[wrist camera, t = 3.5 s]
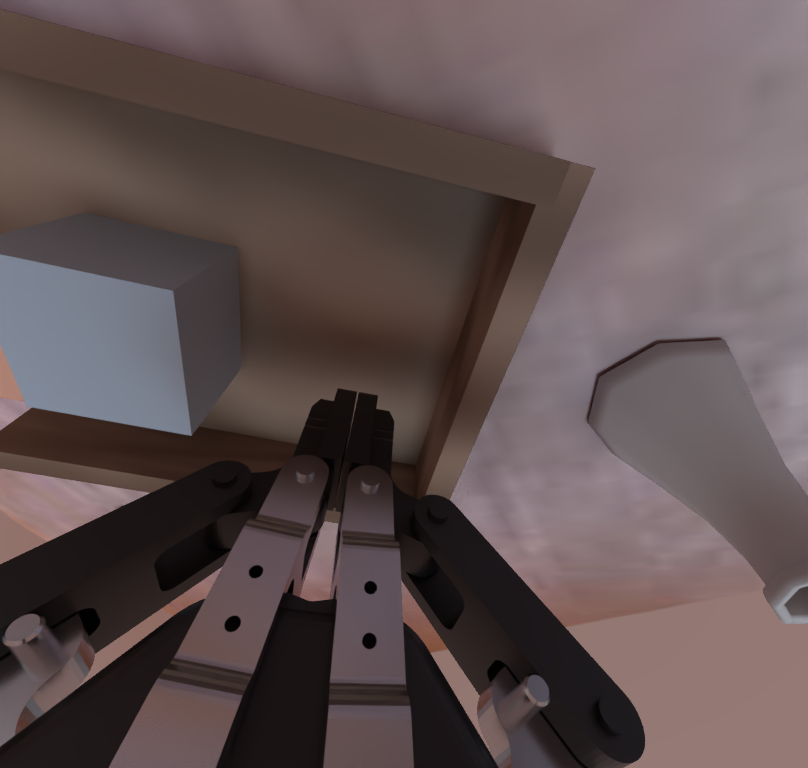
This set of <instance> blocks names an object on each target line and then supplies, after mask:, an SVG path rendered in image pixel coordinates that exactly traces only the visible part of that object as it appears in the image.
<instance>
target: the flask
mask: <svg viewBox="0 0 808 768" xmlns="http://www.w3.org/2000/svg"><path fill="white" fill-rule="evenodd" d="M588 423H589V424H590V426H591V427H592V428H593V430H594V431H595V432H596V433H597V435H598V436H599V437H600V438H601V440H602V441H603V442H604V444H605V445H606V446H607V447H608V449H609V450H610V451H611V452H612V453H613V454H614V455H615V456H617V457H618V458H620V459H621V460H622V461H624V462H625V463H627V464H628V465H630V466H631V467H633V468H634V469H635V470H637V471H638V472H640V473H641V474H643V475H644V476H646V477H647V478H649V479H650V480H652V481H653V482H655V483H656V484H658V485H659V486H660V487H662V488H663V489H664V490H666V491H667V492H668V493H670V494H671V495H672V496H674V497H675V498H677V499H678V500H679V501H681V502H682V503H683V504H685V505H686V506H687V507H689V508H690V509H691V510H693V511H694V512H695V513H697V514H698V515H700V516H701V517H702V518H704V519H705V520H706V521H708V522H709V523H710V524H711V525H712V526H713V527H714V528H715V529H716V530H717V531H718V532H719V533H720V534H721V535H722V536H723V537H724V538H725V539H726V540H727V541H728V542H729V543H730V544H731V545H732V546H733V547H734V548H735V549H736V550H737V551H738V552H739V553H740V554H741V555H742V556H743V557H744V558H745V559H746V560H747V561H748V562H749V564H750V565H751V566H752V567H753V569H754V570H755V571H756V573H757V574H758V575H759V576H760V578H761V579H762V580H763V582H764V583H765V584H766V586H765V587H764V589H763V593H764V595H765V598H766V599H767V602H768V603H769V604H770V606H771V607H772V609H773V610H774V612H775V613H776V615H777V616H778V617H779V619H780V620H781V621H782V622H783V624H808V496H807V494H806V493H805V491H804V490H803V489H802V487H801V486H800V485H799V483H798V482H797V481H796V479H795V478H794V477H793V475H792V474H791V472H790V471H789V470H788V468H787V467H786V466H785V464H784V462H783V460H782V458H781V456H780V454H779V452H778V450H777V448H776V446H775V444H774V442H773V440H772V438H771V436H770V434H769V432H768V430H767V428H766V426H765V424H764V422H763V420H762V418H761V416H760V414H759V412H758V409H757V407H756V405H755V403H754V400H753V398H752V396H751V394H750V391H749V389H748V387H747V385H746V383H745V381H744V379H743V377H742V374H741V372H740V370H739V368H738V366H737V364H736V362H735V360H734V357H733V355H732V353H731V351H730V349H729V347H728V345H727V343H726V341H725V340H712V341H693V342H674V343H658V344H656V345H655V346H653V347H651V348H649V349H648V350H646V351H644V352H642V353H641V354H639V355H637V356H635V357H634V358H632V359H630V360H628V361H627V362H625V363H623V364H621V365H620V366H618V367H616V368H614V369H612V370H611V371H609V372H607V373H605V374H604V375H602V376H600V377H599V380H598V384H597V388H596V392H595V396H594V400H593V404H592V408H591V412H590V416H589V420H588Z"/></svg>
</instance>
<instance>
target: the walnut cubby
mask: <svg viewBox="0 0 808 768" xmlns="http://www.w3.org/2000/svg"><path fill="white" fill-rule="evenodd" d="M594 171H595V168H592V167H588V166H585V165H581V164H577V163H574V162H570V161H566V160H562V159H559V158H555V157H551V156H547V155H544V154H540V153H536V152H532V151H529V150H525V149H521V148H517V147H514V146H510V145H506V144H503V143H499V142H495V141H491V140H488V139H484V138H480V137H476V136H473V135H469V134H465V133H461V132H458V131H454V130H450V129H446V128H443V127H439V126H435V125H432V124H428V123H424V122H420V121H417V120H413V119H409V118H405V117H402V116H398V115H394V114H390V113H387V112H383V111H379V110H376V109H372V108H368V107H364V106H361V105H357V104H353V103H349V102H346V101H342V100H338V99H334V98H331V97H327V96H323V95H319V94H316V93H312V92H308V91H305V90H301V89H297V88H293V87H290V86H286V85H282V84H278V83H275V82H271V81H267V80H263V79H260V78H256V77H252V76H248V75H245V74H241V73H237V72H234V71H230V70H226V69H222V68H219V67H215V66H211V65H207V64H204V63H200V62H196V61H192V60H189V59H185V58H181V57H177V56H174V55H170V54H166V53H163V52H159V51H155V50H151V49H148V48H144V47H140V46H136V45H133V44H129V43H125V42H121V41H118V40H114V39H110V38H107V37H103V36H99V35H95V34H92V33H88V32H84V31H80V30H77V29H73V28H69V27H65V26H62V25H58V24H54V23H50V22H47V21H43V20H39V19H36V18H32V17H28V16H24V15H21V14H17V13H13V12H9V11H6V10H2V9H0V234H3V233H6V232H10V231H14V230H18V229H22V228H26V227H30V226H34V225H38V224H41V223H45V222H49V221H53V220H57V219H61V218H65V217H69V216H72V215H76V214H80V213H88V214H93V215H97V216H102V217H106V218H111V219H115V220H119V221H124V222H128V223H133V224H137V225H142V226H146V227H151V228H155V229H159V230H164V231H168V232H173V233H177V234H182V235H186V236H190V237H195V238H199V239H204V240H208V241H213V242H217V243H221V244H226V245H230V246H235V247H238V259H239V297H240V335H241V369H240V371H239V372H238V374H237V375H236V376H235V378H234V379H233V380H232V382H231V383H230V384H229V386H228V387H227V388H226V390H225V391H224V393H223V394H222V395H221V397H220V398H219V399H218V401H217V402H216V403H215V405H214V406H213V408H212V409H211V410H210V412H209V413H208V414H207V416H206V417H205V418H204V420H203V421H202V423H201V424H200V425H199V427H198V428H197V429H196V431H195V432H194V433H193V435H192V436H190V435H184V434H178V433H173V432H167V431H162V430H156V429H150V428H145V427H139V426H134V425H128V424H122V423H117V422H111V421H105V420H100V419H94V418H89V417H83V416H77V415H72V414H66V413H61V412H55V411H49V410H44V409H38V408H31V409H30V410H28V411H27V412H25V413H24V414H23V415H21V416H20V417H19V418H17V419H16V420H14V421H13V422H12V423H10V424H9V425H8V426H6V427H5V428H3V429H2V430H1V431H0V468H2V469H8V470H14V471H20V472H26V473H32V474H38V475H45V476H51V477H57V478H63V479H69V480H75V481H81V482H88V483H94V484H100V485H106V486H112V487H118V488H124V489H131V490H137V491H143V492H149V493H152V492H154V491H156V490H158V489H160V488H162V487H164V486H166V485H169V484H171V483H173V482H175V481H177V480H179V479H181V478H183V477H185V476H188V475H190V474H192V473H194V472H196V471H198V470H200V469H202V468H204V467H206V466H209V465H211V464H213V463H216V462H219V461H224V460H233V461H238V462H241V463H243V464H245V465H246V466H247V467H248V468H249V469H250V471H251V473H257V472H267V471H273V470H276V469H279V468H281V467H282V466H283V465H284V463H285V462H286V461H288V460H289V459H291V458H292V457H293V455H294V452H295V450H296V447H297V444H298V442H299V439H300V436H301V434H302V431H303V428H304V426H305V423H306V420H307V418H308V415H309V413H310V410H311V407H312V406H313V405H314V404H315V403H316V402H318V401H319V400H320V399H325V400H330V401H334V399H335V396H336V392H337V389H338V388H341V389H346V390H351V391H357V397H356V402H355V408H356V403H357V399H358V394H359V392H362V393H368V394H373V395H378V400H377V407H376V409H380V410H385V411H390V413H391V415H392V417H393V419H394V435H393V450H392V464H391V477H392V480H393V482H394V483H395V485H396V486H397V487H398V488H399V489H400V490H401V491H402V492H404V493H406V494H408V495H410V496H412V497H414V498H416V499H418V500H419V499H420V498H421V497H423V496H426V495H439V496H442V497H445V498H447V499H449V500H450V498H451V495H452V493H453V491H454V488H455V486H456V484H457V482H458V479H459V477H460V475H461V473H462V470H463V468H464V466H465V464H466V461H467V459H468V457H469V454H470V452H471V450H472V448H473V445H474V443H475V441H476V439H477V436H478V434H479V432H480V429H481V427H482V425H483V423H484V420H485V418H486V416H487V414H488V411H489V409H490V407H491V405H492V402H493V400H494V398H495V395H496V393H497V391H498V389H499V386H500V384H501V382H502V380H503V377H504V375H505V373H506V370H507V368H508V366H509V364H510V361H511V359H512V357H513V355H514V352H515V350H516V348H517V346H518V343H519V341H520V339H521V336H522V334H523V332H524V330H525V327H526V325H527V323H528V321H529V318H530V316H531V314H532V311H533V309H534V307H535V305H536V302H537V300H538V298H539V296H540V293H541V291H542V289H543V287H544V284H545V282H546V280H547V277H548V275H549V273H550V271H551V268H552V266H553V264H554V262H555V259H556V257H557V255H558V252H559V250H560V248H561V246H562V243H563V241H564V239H565V237H566V234H567V232H568V230H569V228H570V225H571V223H572V221H573V218H574V216H575V214H576V212H577V209H578V207H579V205H580V203H581V200H582V198H583V196H584V193H585V191H586V189H587V187H588V184H589V182H590V180H591V178H592V175H593V173H594ZM355 408H354V413H355ZM353 417H354V414H353ZM352 422H353V419H352ZM351 427H352V425H351ZM350 431H351V430H350ZM349 436H350V435H349ZM346 450H347V449H346ZM344 459H345V458H344ZM343 464H344V463H343ZM342 470H343V468H342ZM341 476H342V472H341ZM340 481H341V477H340ZM339 487H340V482H339V486H338V491H337V495H336V500H335V505H334V509H333V511H329V510H327V511H326V515H325V519H324V521H327V522H333V523H339V520H340V514H341V512H336V511H335V509H336V504H337V498H338V493H339Z"/></svg>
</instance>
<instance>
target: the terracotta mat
mask: <svg viewBox="0 0 808 768" xmlns="http://www.w3.org/2000/svg"><path fill="white" fill-rule="evenodd" d="M0 397H1V398H7V399H13V400H18V401H24V399H23V396H22V394H21V392H20V389H19V387H18V385H17V382H16V380H15V378H14V375H13V373H12V371H11V369H10V366H9V364H8V362H7V359H6V357H5V355H4V352H3V350H2V348H1V345H0ZM24 402H25V401H24Z"/></svg>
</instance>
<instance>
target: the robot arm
mask: <svg viewBox="0 0 808 768" xmlns="http://www.w3.org/2000/svg"><path fill="white" fill-rule="evenodd" d="M356 397H357V391H351V390H346V389H341V388H338V389H337V392H336V396H335V399H334V401H330V400H325V399H320V400H319V401H318V402H316V403H315V404H314V405H313V406H312V407H311V410H310V413H309V415H308V418H307V420H306V423H305V426H304V428H303V431H302V434H301V436H300V439H299V442H298V444H297V447H296V450H295V452H294V455H293V457H292V458H291V459H289V460H288V461H286V462H285V463H284V465H283V466H282V467H281V468H279V469H276V470H273V471H267V472H257V473H251V471H250V469H249V468H248V467H247V466H246V465H245V464H243V463H241V462H238V461H233V460H224V461H219V462H216V463H213V464H211V465H209V466H206V467H204V468H202V469H200V470H198V471H196V472H194V473H192V474H190V475H188V476H185V477H183V478H181V479H179V480H177V481H175V482H173V483H171V484H169V485H166V486H164V487H162V488H160V489H158V490H156V491H154V492H152V493H150V494H148V495H145V496H143V497H141V498H139V499H137V500H135V501H133V502H131V503H129V504H126V505H124V506H122V507H120V508H118V509H116V510H114V511H112V512H110V513H108V514H105V515H103V516H101V517H99V518H97V519H95V520H93V521H91V522H89V523H86V524H84V525H82V526H80V527H78V528H76V529H74V530H72V531H70V532H68V533H65V534H63V535H61V536H59V537H57V538H55V539H53V540H51V541H49V542H46V543H44V544H42V545H40V546H38V547H36V548H34V549H32V550H30V551H27V552H25V553H23V554H21V555H19V556H17V557H15V558H13V559H11V560H9V561H7V562H4V563H2V564H0V768H623V767H625V766H627V765H629V764H631V763H633V762H635V761H637V760H638V759H639V758H640V757H641V755H642V754H643V751H644V747H645V734H644V729H643V726H642V723H641V720H640V717H639V715H638V713H637V711H636V709H635V707H634V706H633V704H632V703H631V701H630V700H629V698H628V697H627V696H626V695H625V694H624V693H623V691H622V690H621V689H620V688H619V687H618V686H617V685H616V684H615V682H613V680H612V679H611V678H610V677H609V676H608V675H607V674H606V672H605V671H604V670H603V669H602V668H601V667H600V666H599V665H598V664H597V662H596V661H595V660H594V659H593V658H592V657H591V656H590V655H589V654H588V652H587V651H586V650H585V649H584V648H583V647H582V646H581V645H580V644H579V643H578V641H577V640H576V639H575V638H574V637H573V636H572V635H571V634H570V633H569V631H568V630H567V629H566V628H565V627H564V626H563V625H562V623H561V622H560V621H559V620H558V619H557V618H556V617H555V616H554V615H553V613H552V612H551V611H550V610H549V609H548V608H547V607H546V606H545V605H544V603H543V602H542V601H541V600H540V599H539V598H538V597H537V596H536V595H535V593H534V592H533V591H532V590H531V589H530V588H529V587H528V586H527V585H526V583H525V582H524V581H523V580H522V579H521V578H520V577H519V576H518V575H517V573H516V572H515V571H514V570H513V569H512V568H511V567H510V566H509V565H508V563H507V562H506V561H505V560H504V559H503V558H502V557H501V556H500V555H499V553H498V552H497V551H496V550H495V549H494V548H493V547H492V546H491V545H490V543H489V542H488V541H487V540H486V539H485V538H484V537H483V536H482V535H481V533H480V532H479V531H478V530H477V529H476V528H475V527H474V526H473V525H472V523H471V522H470V521H469V520H468V519H467V518H466V517H465V516H464V515H463V513H462V512H461V511H460V510H459V509H458V508H457V507H456V506H455V505H454V504H453V503H452V502H451V501H450V500H449V499H447V498H445V497H442V496H439V495H426V496H423V497H421V498H420V499H419V500H418V499H416V498H414V497H412V496H410V495H408V494H406V493H404V492H402V491H401V490H400V489H399V488H398V487H397V486H396V485H395V483H394V482H393V480H392V477H391V464H392V450H393V435H394V419H393V417H392V415H391V413H390V411H385V410H380V409H376V407H377V400H378V395H373V394H368V393H362V392H359V394H358V399H357V403H356V408H355V402H356ZM354 408H355V413H354ZM353 414H354V417H353ZM352 419H353V422H352ZM351 425H352V427H351ZM350 430H351V431H350ZM349 435H350V436H349ZM346 449H347V450H346ZM344 458H345V459H344ZM343 463H344V464H343ZM342 468H343V470H342ZM341 472H342V476H341ZM340 477H341V481H340ZM339 482H340V487H339V493H338V498H337V504H336V509H335V511H336V512H341V514H340V520H339V525H338V530H337V536H336V545H335V554H334V563H333V573H332V582H331V591H330V598H329V600H322V601H313V602H312V601H307V600H305V599H302V598H300V594H301V590H302V586H303V583H304V580H305V577H306V574H307V571H308V568H309V565H310V562H311V559H312V556H313V553H314V550H315V547H316V543H317V540H318V537H319V534H320V530H321V527H322V525H323V523H324V519H325V515H326V511H327V510H329V511H333V509H334V505H335V500H336V495H337V491H338V486H339ZM222 566H223V567H222ZM221 567H222V569H221V571H220V572H219V574H218V576H217V578H216V580H215V582H214V584H213V586H212V587H211V589H210V591H209V593H208V595H207V597H206V599H203V600H200V601H198V602H196V603H194V604H192V605H190V606H188V607H187V608H185V609H183V610H182V611H180V612H178V613H177V614H176V615H174V616H173V617H171V618H170V619H169V620H167V621H166V622H165V623H163V624H162V625H161V626H159V627H158V628H157V629H155V630H154V631H153V632H152V633H150V634H149V635H148V636H146V637H145V638H144V639H142V640H141V641H140V642H138V643H137V644H136V645H134V646H133V647H132V648H130V649H129V650H128V651H126V652H125V653H124V654H122V655H121V656H120V657H118V658H117V659H116V660H115V661H113V662H112V663H111V664H109V665H108V666H107V667H105V668H104V669H102V670H101V671H100V672H99V673H97V674H96V675H95V676H93V677H92V678H91V679H89V680H88V681H87V682H85V683H84V684H83V685H81V686H80V687H79V688H77V687H78V686H79V685H80V684H81V683H82V682H83V680H84V679H85V678H86V676H87V675H88V673H89V671H90V669H91V667H92V664H93V661H94V657H95V653H97V652H98V651H100V650H101V649H103V648H104V647H106V646H107V645H109V644H110V643H112V642H113V641H114V640H116V639H117V638H119V637H120V636H122V635H123V634H125V633H126V632H128V631H129V630H130V629H132V628H133V627H135V626H136V625H138V624H139V623H141V622H142V621H144V620H145V619H146V618H148V617H149V616H151V615H152V614H154V613H155V612H157V611H158V610H160V609H161V608H163V607H164V606H166V605H167V604H168V603H170V602H171V601H173V600H174V599H176V598H177V597H179V596H180V595H182V594H183V593H184V592H186V591H187V590H189V589H190V588H192V587H193V586H195V585H196V584H198V583H199V582H201V581H202V580H203V579H205V578H206V577H208V576H209V575H211V574H212V573H214V572H215V571H217V570H218V569H220V568H221ZM401 580H402V582H403V583H404V584H405V586H406V587H407V589H408V590H409V592H410V593H411V595H412V596H413V598H414V599H415V601H416V602H417V604H418V605H419V607H420V608H421V610H422V611H423V613H424V614H425V615H426V617H427V618H428V620H429V621H430V623H431V624H432V626H433V627H434V629H435V630H436V632H437V633H438V635H439V636H440V638H441V639H442V641H443V642H444V644H445V645H446V647H447V648H448V649H449V651H450V652H451V654H452V655H453V657H454V658H455V660H456V661H457V663H458V664H459V666H460V667H461V669H462V670H463V671H464V673H465V675H466V676H467V678H468V679H469V680H470V682H471V683H472V685H473V686H474V688H475V689H476V691H477V692H478V694H479V695H480V698H479V701H478V706H477V716H478V722H479V726H480V729H481V732H482V734H483V736H484V738H485V740H486V742H487V744H488V746H489V749H490V752H491V754H490V752H489V750H488V749H487V747H486V745H485V744H484V742H483V740H482V739H481V737H480V735H479V734H478V732H477V730H476V729H475V727H474V725H473V724H472V722H471V720H470V719H469V717H468V715H467V714H466V712H465V710H464V709H463V707H462V705H461V704H460V702H459V701H458V699H457V697H456V695H455V694H454V692H453V690H452V689H451V687H450V685H449V684H448V682H447V680H446V679H445V677H444V675H443V674H442V672H441V670H440V669H439V667H438V665H437V664H436V662H435V661H434V659H433V657H432V655H431V654H430V652H429V650H428V649H427V647H426V645H425V644H424V642H423V641H422V640H421V639H420V637H419V636H418V635H417V634H416V633H415V632H414V631H413V630H412V629H411V628H410V627H409V626H408V625H407V624H405V623H404V622H403V607H402V585H401ZM76 688H77V689H76ZM75 689H76V690H75ZM74 690H75V691H74Z"/></svg>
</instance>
